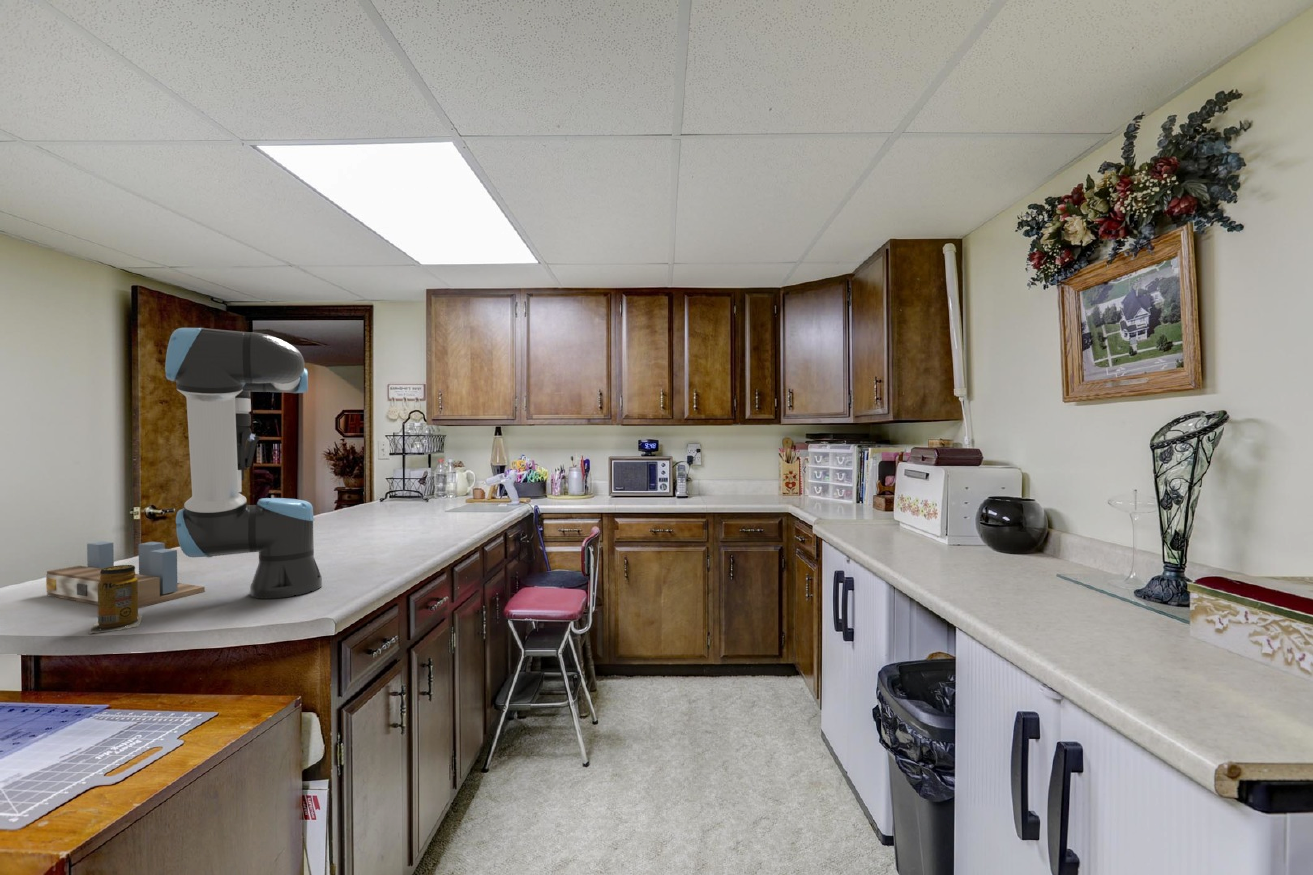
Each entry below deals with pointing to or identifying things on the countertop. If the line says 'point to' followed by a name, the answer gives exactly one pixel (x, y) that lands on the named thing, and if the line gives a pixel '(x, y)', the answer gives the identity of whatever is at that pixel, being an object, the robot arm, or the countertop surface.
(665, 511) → the countertop surface
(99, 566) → the key
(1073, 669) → the countertop surface
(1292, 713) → the countertop surface
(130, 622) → the condiment
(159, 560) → the key
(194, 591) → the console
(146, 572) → the key middle
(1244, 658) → the countertop surface
